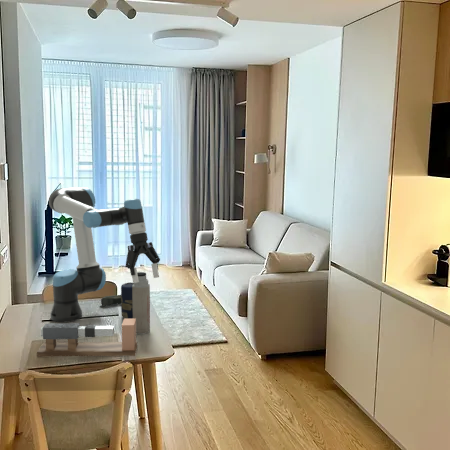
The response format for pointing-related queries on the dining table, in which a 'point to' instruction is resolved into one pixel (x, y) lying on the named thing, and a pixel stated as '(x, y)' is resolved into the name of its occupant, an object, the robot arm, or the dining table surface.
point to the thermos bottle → (141, 304)
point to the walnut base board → (83, 349)
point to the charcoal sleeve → (60, 331)
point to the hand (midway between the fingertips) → (146, 280)
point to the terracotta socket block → (128, 334)
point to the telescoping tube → (93, 331)
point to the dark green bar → (111, 300)
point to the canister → (127, 301)
